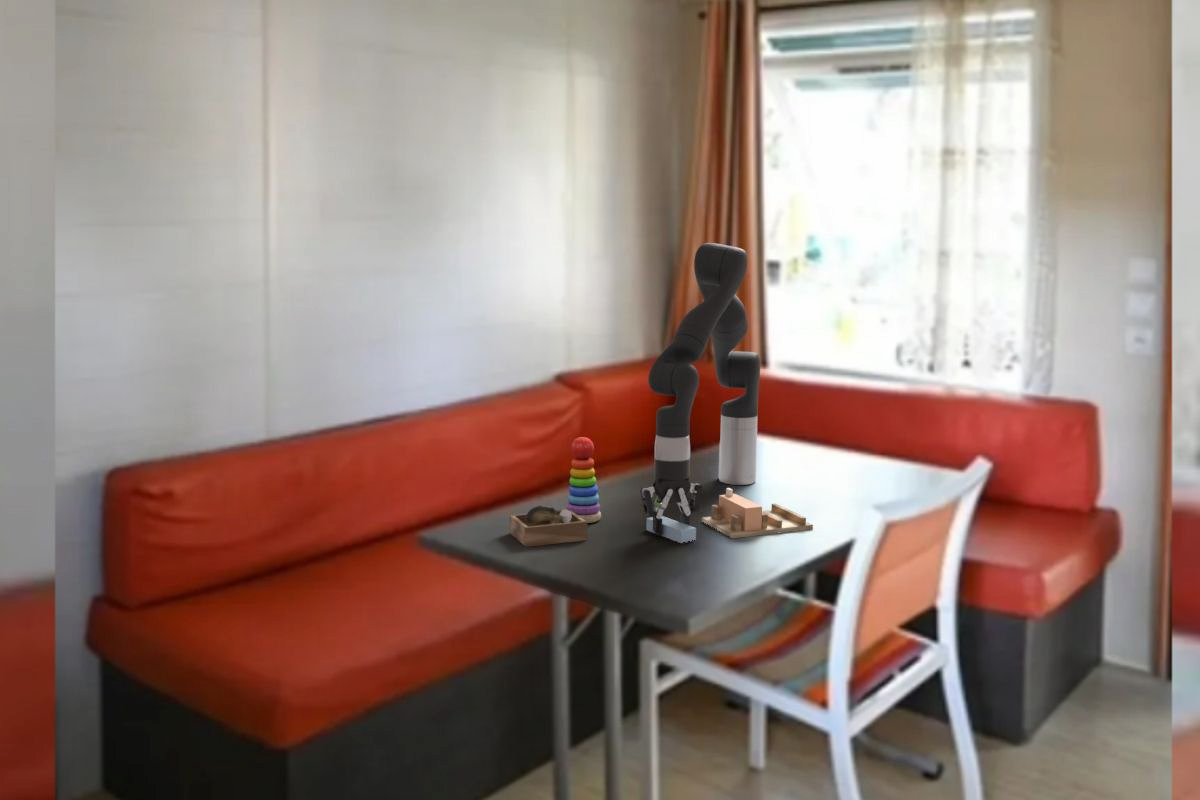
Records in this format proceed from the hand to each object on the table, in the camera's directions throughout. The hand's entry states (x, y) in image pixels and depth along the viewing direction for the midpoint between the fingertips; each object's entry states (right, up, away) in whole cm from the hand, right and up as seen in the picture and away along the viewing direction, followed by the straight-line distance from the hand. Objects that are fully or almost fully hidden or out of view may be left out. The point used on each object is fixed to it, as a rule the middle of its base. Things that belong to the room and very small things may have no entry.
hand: (670, 532), depth 256 cm
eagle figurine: (-26, 0, -2) cm, 26 cm away
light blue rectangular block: (0, -1, 0) cm, 1 cm away
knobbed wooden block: (+15, +2, +6) cm, 17 cm away
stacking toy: (-19, +1, +12) cm, 22 cm away
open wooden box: (-26, -1, -2) cm, 26 cm away
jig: (+19, +1, +8) cm, 21 cm away
